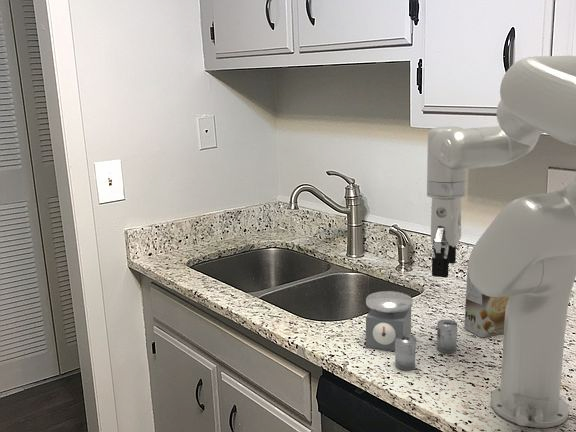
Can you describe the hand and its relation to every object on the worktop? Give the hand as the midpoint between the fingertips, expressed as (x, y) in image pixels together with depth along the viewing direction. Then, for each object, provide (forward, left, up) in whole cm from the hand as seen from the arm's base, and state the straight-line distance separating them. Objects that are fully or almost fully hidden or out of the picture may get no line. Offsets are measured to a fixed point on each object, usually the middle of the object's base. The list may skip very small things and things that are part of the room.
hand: (444, 269), depth 125 cm
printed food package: (+12, -9, -18) cm, 23 cm away
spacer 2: (-1, -1, -17) cm, 17 cm away
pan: (0, +11, -10) cm, 15 cm away
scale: (0, +11, -17) cm, 21 cm away
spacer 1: (-11, +6, -17) cm, 22 cm away
